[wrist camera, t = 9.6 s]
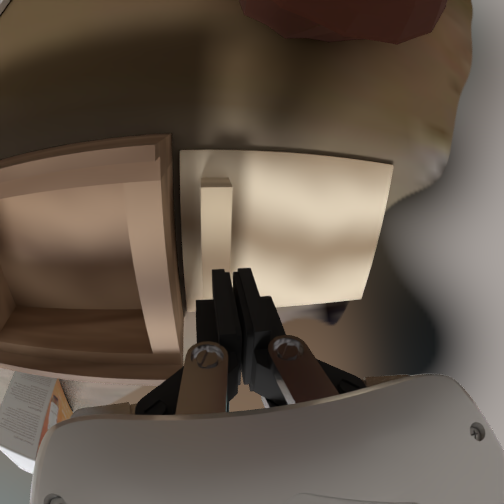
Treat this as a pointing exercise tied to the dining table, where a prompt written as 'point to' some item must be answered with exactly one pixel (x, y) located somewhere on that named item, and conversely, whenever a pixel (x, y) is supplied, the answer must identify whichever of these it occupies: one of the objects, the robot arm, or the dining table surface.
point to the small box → (30, 416)
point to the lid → (281, 222)
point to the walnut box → (91, 262)
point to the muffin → (347, 18)
